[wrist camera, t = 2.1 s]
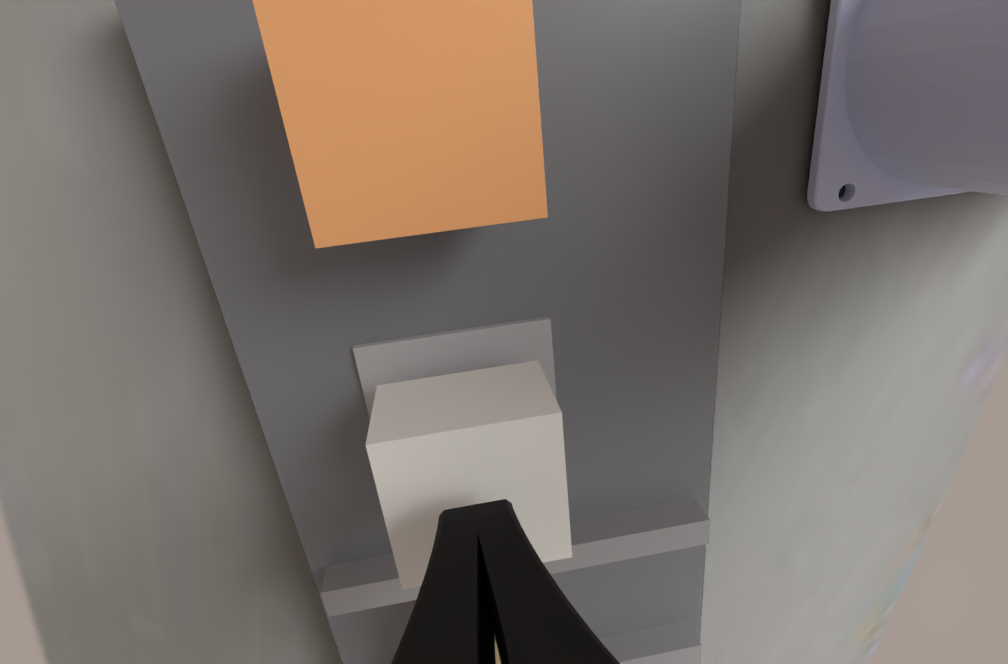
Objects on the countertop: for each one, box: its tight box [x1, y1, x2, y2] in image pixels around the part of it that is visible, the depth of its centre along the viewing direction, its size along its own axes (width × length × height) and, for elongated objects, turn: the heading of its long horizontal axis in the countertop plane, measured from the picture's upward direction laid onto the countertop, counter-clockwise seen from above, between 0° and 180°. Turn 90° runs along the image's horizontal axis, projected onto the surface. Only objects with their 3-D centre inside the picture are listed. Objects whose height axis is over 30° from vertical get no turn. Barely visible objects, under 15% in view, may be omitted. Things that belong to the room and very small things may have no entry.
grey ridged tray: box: [115, 0, 741, 664], centre depth 16 cm, size 13×24×3 cm, turn 6°
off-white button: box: [366, 360, 572, 589], centre depth 12 cm, size 4×4×2 cm
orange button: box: [252, 0, 548, 248], centre depth 9 cm, size 4×4×2 cm
